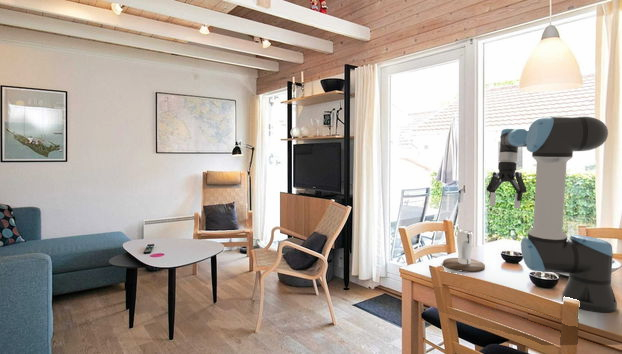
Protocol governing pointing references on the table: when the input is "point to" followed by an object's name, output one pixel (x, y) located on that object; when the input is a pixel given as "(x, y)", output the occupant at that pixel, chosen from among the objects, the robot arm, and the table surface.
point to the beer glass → (464, 246)
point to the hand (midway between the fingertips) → (504, 207)
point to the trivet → (454, 265)
